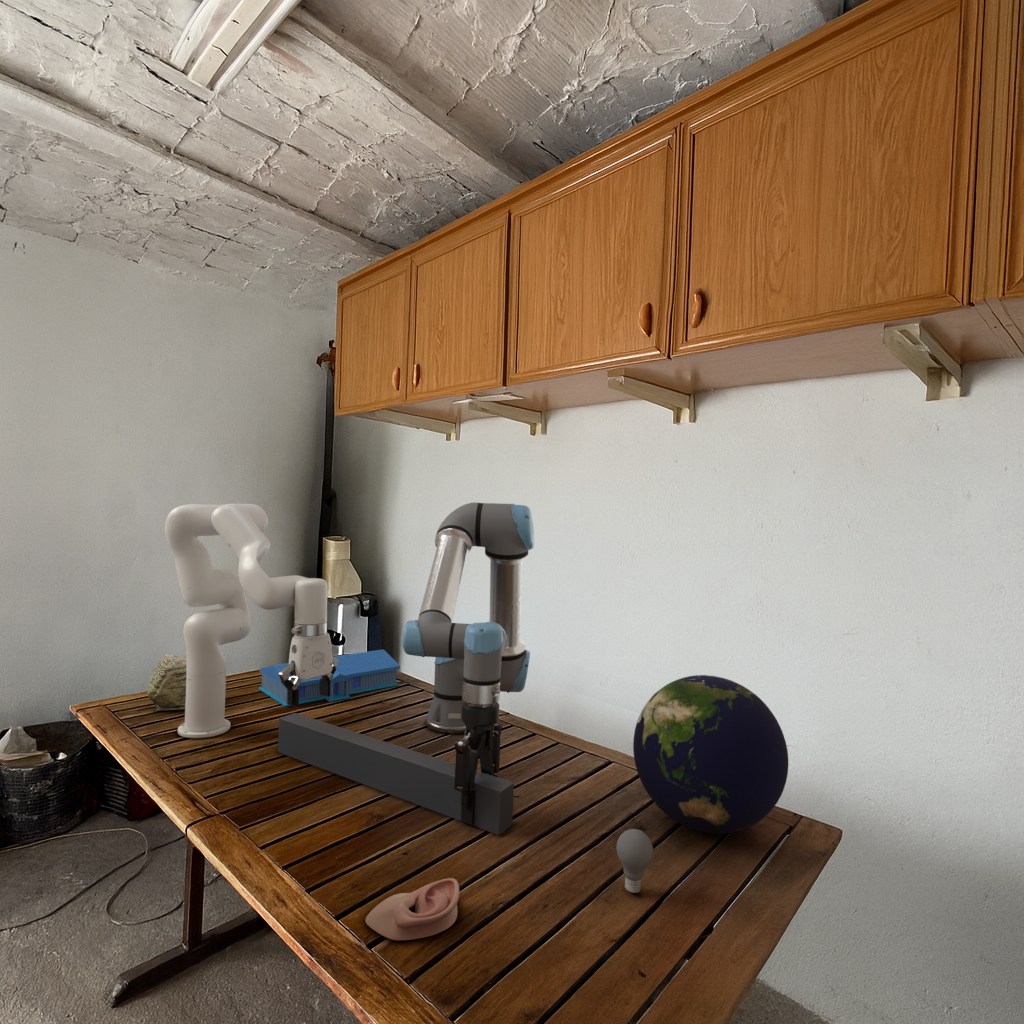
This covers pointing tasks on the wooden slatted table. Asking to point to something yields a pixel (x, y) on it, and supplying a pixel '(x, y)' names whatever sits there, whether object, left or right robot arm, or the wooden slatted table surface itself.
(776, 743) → the globe
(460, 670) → the right robot arm
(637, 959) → the wooden slatted table surface
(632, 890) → the light bulb
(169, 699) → the fossil
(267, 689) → the model building
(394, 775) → the post
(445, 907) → the anatomical model
